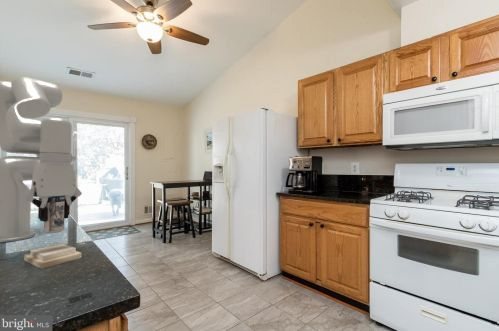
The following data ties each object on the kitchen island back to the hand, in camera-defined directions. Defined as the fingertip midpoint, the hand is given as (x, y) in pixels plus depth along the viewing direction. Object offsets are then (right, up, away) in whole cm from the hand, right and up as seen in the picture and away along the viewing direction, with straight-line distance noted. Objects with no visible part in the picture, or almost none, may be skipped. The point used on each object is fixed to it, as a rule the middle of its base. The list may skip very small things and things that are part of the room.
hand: (54, 218), depth 75 cm
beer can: (0, -4, 0) cm, 4 cm away
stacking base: (0, -12, 0) cm, 12 cm away
